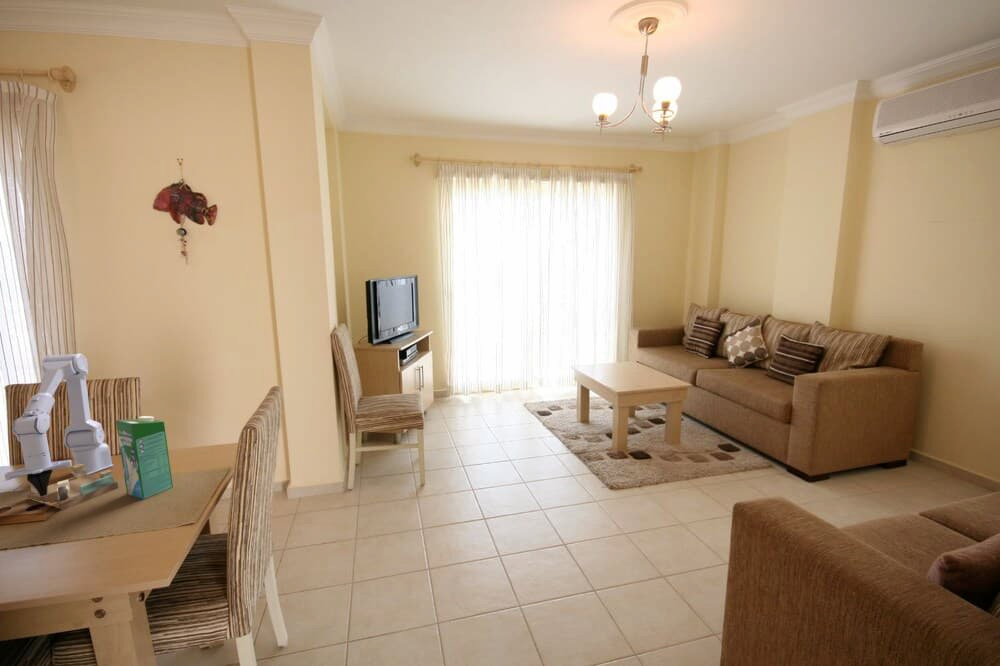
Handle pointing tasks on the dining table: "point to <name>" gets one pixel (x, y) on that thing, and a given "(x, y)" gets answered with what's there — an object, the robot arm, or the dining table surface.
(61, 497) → the stool leg
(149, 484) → the milk carton
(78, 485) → the stool seat
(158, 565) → the dining table surface
